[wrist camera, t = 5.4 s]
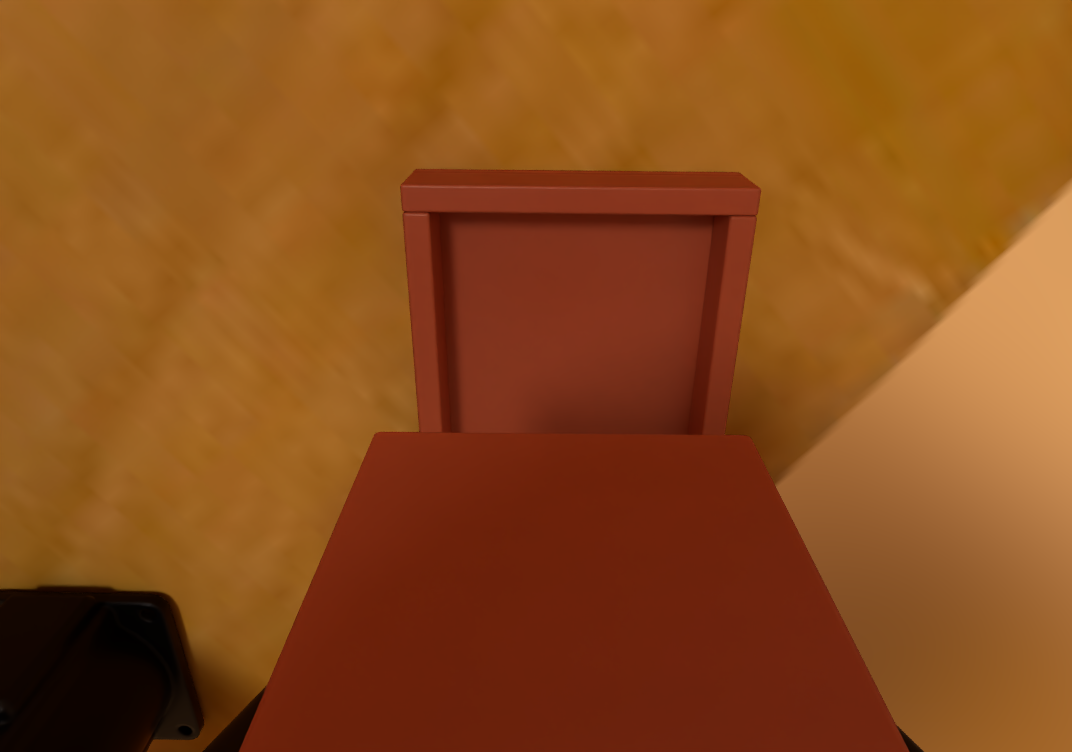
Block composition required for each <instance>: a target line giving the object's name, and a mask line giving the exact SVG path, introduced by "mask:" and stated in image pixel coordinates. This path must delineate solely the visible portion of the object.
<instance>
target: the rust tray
mask: <svg viewBox="0 0 1072 752" xmlns="http://www.w3.org/2000/svg"><path fill="white" fill-rule="evenodd" d="M400 188H401V201H402V210H403V211H404V213H403V226H404V239H405V252H406V265H407V277H408V290H409V303H410V316H411V329H412V342H413V355H414V368H415V381H416V394H417V407H418V420H419V432H442V433H553V434H664V435H725V429H726V422H727V415H728V408H729V402H730V395H731V388H732V382H733V375H734V368H735V361H736V355H737V348H738V341H739V334H740V328H741V321H742V314H743V308H744V301H745V294H746V287H747V281H748V274H749V267H750V261H751V254H752V247H753V240H754V234H755V227H756V220H757V219H756V216H755V215H757V213H758V208H759V201H760V194H761V189H760V188H759V187H758V186H756V185H755V184H754V183H752V182H751V181H749V180H748V179H747V178H745V177H744V176H743V175H742V174H740V173H739V172H647V171H553V170H458V169H416V170H414V171H413V173H412V174H411V175H410V176H409V177H408V178H407V179H406V180H405V181H404V182H403V183H402V184H401V187H400Z"/></svg>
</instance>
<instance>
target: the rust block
mask: <svg viewBox="0 0 1072 752" xmlns="http://www.w3.org/2000/svg"><path fill="white" fill-rule="evenodd" d="M239 752H909V750H908V748H907V746H906V744H905V742H904V740H903V738H902V736H901V734H900V732H899V730H898V728H897V726H896V724H895V722H894V720H893V718H892V717H891V714H890V712H889V710H888V708H887V706H886V704H885V703H884V700H883V698H882V696H881V694H880V692H879V691H878V688H877V686H876V685H875V682H874V681H873V679H872V677H871V675H870V673H869V671H868V669H867V667H866V665H865V663H864V661H863V659H862V657H861V655H860V653H859V651H858V649H857V647H856V645H855V643H854V641H853V639H852V637H851V635H850V633H849V631H848V629H847V627H846V625H845V623H844V621H843V619H842V617H841V616H840V613H839V611H838V609H837V607H836V605H835V603H834V601H833V600H832V598H831V596H830V593H829V592H828V589H827V587H826V586H825V584H824V582H823V580H822V578H821V576H820V574H819V572H818V570H817V568H816V566H815V564H814V562H813V560H812V558H811V556H810V554H809V552H808V550H807V548H806V546H805V544H804V542H803V540H802V538H801V536H800V534H799V532H798V530H797V528H796V526H795V524H794V522H793V520H792V519H791V517H790V514H789V512H788V510H787V508H786V506H785V504H784V502H783V501H782V499H781V496H780V494H779V492H778V491H777V489H776V487H775V485H774V483H773V481H772V479H771V477H770V475H769V473H768V471H767V469H766V467H765V465H764V463H763V461H762V459H761V457H760V455H759V453H758V451H757V449H756V447H755V445H754V443H753V441H752V439H751V438H750V437H749V436H746V435H664V434H553V433H442V432H378V433H376V434H374V437H373V439H372V441H371V444H370V446H369V448H368V451H367V453H366V456H365V458H364V460H363V463H362V465H361V467H360V470H359V472H358V474H357V477H356V479H355V481H354V484H353V486H352V488H351V491H350V493H349V495H348V498H347V500H346V502H345V505H344V507H343V509H342V512H341V514H340V516H339V519H338V521H337V523H336V526H335V528H334V530H333V533H332V535H331V537H330V540H329V542H328V544H327V547H326V549H325V551H324V554H323V556H322V558H321V561H320V563H319V565H318V568H317V570H316V572H315V575H314V577H313V579H312V582H311V584H310V586H309V589H308V591H307V593H306V596H305V598H304V600H303V603H302V605H301V607H300V610H299V612H298V614H297V617H296V619H295V622H294V624H293V626H292V629H291V631H290V633H289V636H288V638H287V640H286V643H285V645H284V647H283V650H282V652H281V654H280V657H279V659H278V661H277V664H276V666H275V668H274V671H273V673H272V675H271V678H270V680H269V682H268V685H267V687H266V689H265V692H264V694H263V696H262V699H261V701H260V703H259V706H258V708H257V710H256V713H255V715H254V717H253V720H252V722H251V724H250V727H249V729H248V731H247V734H246V736H245V738H244V741H243V743H242V745H241V748H240V750H239Z"/></svg>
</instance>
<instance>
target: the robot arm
mask: <svg viewBox="0 0 1072 752" xmlns="http://www.w3.org/2000/svg"><path fill="white" fill-rule="evenodd" d="M151 610H152V611H151ZM266 687H267V686H266ZM266 687H265V688H264V689H263V690H262V691H261V692H260V693H259V694H258V695H257V696H256V697H255V698H254V699H253V700H252V701H251V702H250V703H249V704H248V705H247V706H246V707H245V708H244V709H243V711H242V712H241V713H240V714H239V715H238V716H237V717H236V718H235V719H234V720H233V721H232V722H231V723H230V724H229V725H228V726H227V727H226V728H225V729H224V730H223V731H222V732H221V733H220V734H219V735H218V736H217V737H216V738H215V739H214V740H213V741H212V742H211V743H210V745H209V746H208V747H207V748H206V749H205V750H204V751H203V752H239V750H240V748H241V745H242V743H243V741H244V738H245V736H246V734H247V731H248V729H249V727H250V724H251V722H252V720H253V717H254V715H255V713H256V710H257V708H258V706H259V703H260V701H261V699H262V696H263V694H264V692H265V689H266ZM203 726H204V718H203V715H202V712H201V708H200V705H199V702H198V698H197V695H196V692H195V688H194V685H193V682H192V678H191V675H190V672H189V669H188V665H187V662H186V659H185V655H184V652H183V649H182V645H181V642H180V639H179V635H178V632H177V629H176V625H175V622H174V619H173V615H172V612H171V609H170V606H169V604H168V602H167V601H166V600H165V599H164V598H162V597H160V596H158V595H153V594H118V593H59V592H0V752H146V751H147V749H148V748H149V746H150V744H151V742H152V740H153V739H169V740H191V739H195V738H197V737H198V735H199V734H200V732H201V730H202V728H203ZM896 726H897V725H896ZM897 728H898V730H899V732H900V734H901V736H902V738H903V740H904V742H905V744H906V746H907V748H908V750H909V752H924V751H923V750H922V749H920V747H918V746H917V745H916V744H915V743H914V742H913V741H912V740H911V739H910V738H909V737H908V736H907V735H906V734H905V733H904V732H903V731H902V730H901V729H900V728H899V727H898V726H897Z"/></svg>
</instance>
